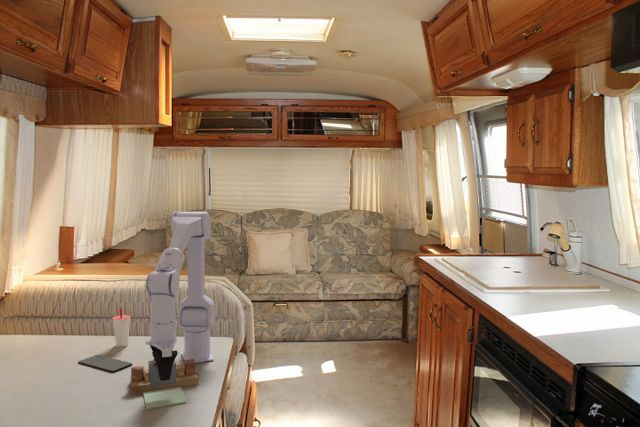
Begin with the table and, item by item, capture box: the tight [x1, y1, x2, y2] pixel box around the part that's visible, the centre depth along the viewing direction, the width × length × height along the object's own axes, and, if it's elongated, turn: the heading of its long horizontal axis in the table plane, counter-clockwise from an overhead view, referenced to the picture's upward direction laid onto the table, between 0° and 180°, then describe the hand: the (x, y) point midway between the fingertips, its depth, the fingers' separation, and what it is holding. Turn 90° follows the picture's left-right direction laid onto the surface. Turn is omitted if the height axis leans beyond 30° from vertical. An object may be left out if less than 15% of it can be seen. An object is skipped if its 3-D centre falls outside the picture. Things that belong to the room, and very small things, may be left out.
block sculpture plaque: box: [130, 359, 199, 395], centre depth 132 cm, size 8×16×5 cm, turn 113°
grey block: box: [148, 358, 177, 388], centre depth 123 cm, size 4×6×6 cm, turn 113°
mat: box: [142, 387, 187, 410], centre depth 124 cm, size 9×9×1 cm
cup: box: [111, 307, 131, 348], centre depth 161 cm, size 5×5×12 cm
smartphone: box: [77, 354, 133, 374], centre depth 145 cm, size 7×1×15 cm
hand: (163, 376), depth 123 cm, fingers closed on grey block, 4 cm apart
